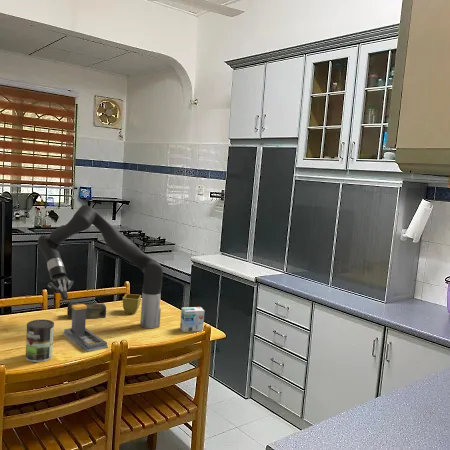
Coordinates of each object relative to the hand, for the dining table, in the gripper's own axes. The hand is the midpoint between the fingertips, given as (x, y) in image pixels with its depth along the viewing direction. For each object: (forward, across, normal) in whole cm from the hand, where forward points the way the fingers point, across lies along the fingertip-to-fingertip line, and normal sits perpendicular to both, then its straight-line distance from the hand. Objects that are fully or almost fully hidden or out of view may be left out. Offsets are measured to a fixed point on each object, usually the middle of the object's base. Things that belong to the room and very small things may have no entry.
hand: (65, 299), depth 220 cm
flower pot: (+6, -40, -13) cm, 43 cm away
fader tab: (+19, -1, +1) cm, 19 cm away
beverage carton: (+3, -16, -17) cm, 24 cm away
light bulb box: (+33, -53, +14) cm, 63 cm away
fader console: (+25, -1, +5) cm, 25 cm away
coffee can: (+30, +22, +10) cm, 39 cm away
